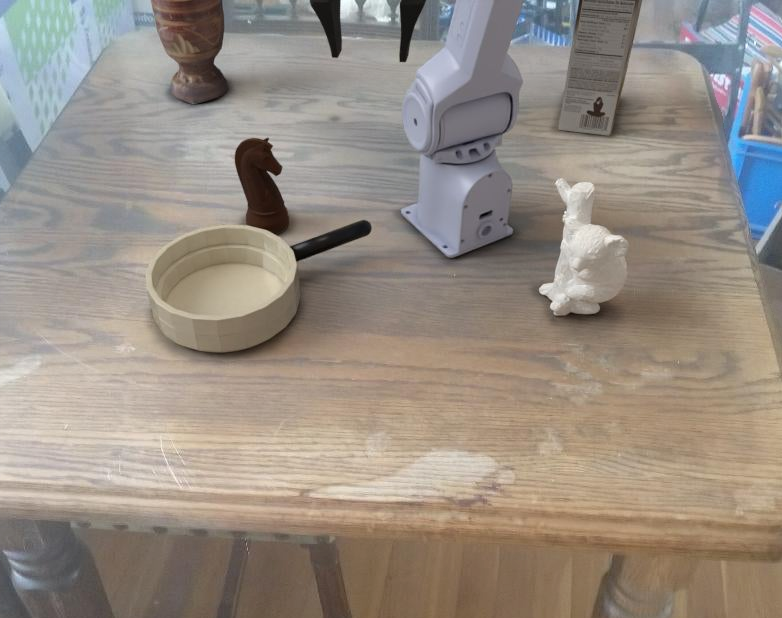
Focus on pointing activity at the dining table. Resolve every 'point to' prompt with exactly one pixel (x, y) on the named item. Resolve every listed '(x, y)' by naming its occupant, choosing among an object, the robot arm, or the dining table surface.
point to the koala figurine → (585, 257)
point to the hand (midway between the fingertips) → (370, 56)
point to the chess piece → (261, 185)
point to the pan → (223, 287)
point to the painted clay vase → (192, 46)
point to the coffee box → (598, 64)
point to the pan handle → (331, 239)
